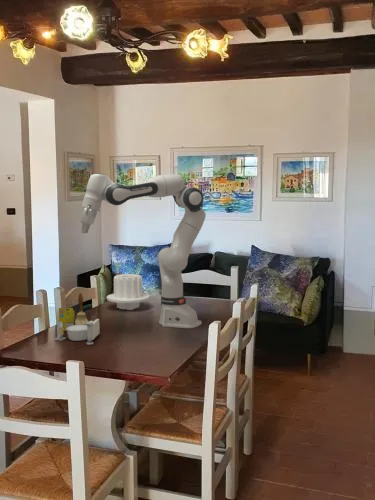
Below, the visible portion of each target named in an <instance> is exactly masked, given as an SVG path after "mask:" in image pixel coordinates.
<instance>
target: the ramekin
mask: <svg viewBox="0 0 375 500" xmlns="http://www.w3.org/2000/svg"><path fill="white" fill-rule="evenodd" d="M66 330H67V331H66V332H67V337H68V340H70V341H73V342H80V341H82V342H83V341H85V340H87V325H73V326H70V327H67V329H66Z"/></svg>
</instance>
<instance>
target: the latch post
mask: <svg viewBox="0 0 375 500" xmlns="http://www.w3.org/2000/svg"><path fill="white" fill-rule="evenodd" d="M56 333H57V337H55V338H54V339H53V341H55V340H56V341H63V340H65V339H67V337H65V336H64V335H65V331H64V328H63V322H59V321H57V322H56Z"/></svg>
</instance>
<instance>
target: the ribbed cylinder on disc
mask: <svg viewBox="0 0 375 500" xmlns="http://www.w3.org/2000/svg"><path fill="white" fill-rule="evenodd" d="M150 297H151V295H150V294H148V293H144V292H143V276H141V275H140V274H137V273H123V274H116V275H115V276H114V277H113V293H111V294H108V295H107V296H106V300H107V301H108V302H112V303H116V309H117V308H119V309H118V310H125V309H126V311H127V310H128V311H132V310H134V309H138V308H140V307H141V306H140V305H141V304H140V303H142V302H145V301H149V300H150Z"/></svg>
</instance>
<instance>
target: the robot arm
mask: <svg viewBox="0 0 375 500" xmlns="http://www.w3.org/2000/svg"><path fill="white" fill-rule="evenodd" d="M85 189H86V190H85V191H86V192H85V195H84V196H83V200H82V204H81V207H82V208H83V209H82V210H83V211H82V215H81V219H80V223H81V224H82V225H81V230H80V233H81V234H88V232H89V230H90V227H91V225H94V223H95V220H96V216H97V214H98V212H100V210H101V207H102V203H103V201H104V202H106V203H108V204H111V205H112V206H121V205H122V204H123V205H124V203H126V202H127V201H129V200H133V199H137V198H143V197H149V198H165V197H171V196H172V197H173V199H174V202H175V204H176V205H177V206H178V207H179V208H183V209H184V215H183V217H182V219H181V220H180V222H179V224H178V225H177V228H176V229H175V231H174V233H173V237H172V241H171V245H170V247H164V248H162V249H160V250H159V252H158V255H157V260H158V265H159V272H160V280H161V281H160V282H161V297H160V306H161V309H160V310H161V311H160V316H159V321H158V324H159V325H161V326H162V327H165V328H180V329H194V328H198V327H200V326H201V325H202V323H203V322H202V320H201V319H198V314H197V312H196V310H195V309H194V308H192V307H191V306H190V305H189V304H188V303H187V301H188V297H185V295H184V280H183V278H182V272H183V270H185V269H186V267H187V265H188V260H189V257H190V253H191V250H192V247H193V244H194V243H195V241H196V239H197V236H198V235H199V234H200V231H201V229H202V227H203V225H204V222H205V219H206V216H207V215H206V211H205V209H203V208H204V207H203V206H204V204H203V203H204V194H203V192H202V191H201V189H199V188H197V187H193V186H186V183H185V180H184V178H183V176H182V175H180V174H176V173H174V174H173V173H166V174H158V175H155V176H152V177H150V178H148V179H147V180H146V181H144V182H142V183H139V184H138V183H137V184H133V185H123V184H119V183H115V182H113V181H112V180H111V178H109V176H108V175H107V174H105V173H97V172H96V173H92V174H91V175H90V177H89V179H88V182H87V184H86V188H85ZM181 271H182V272H181Z"/></svg>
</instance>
